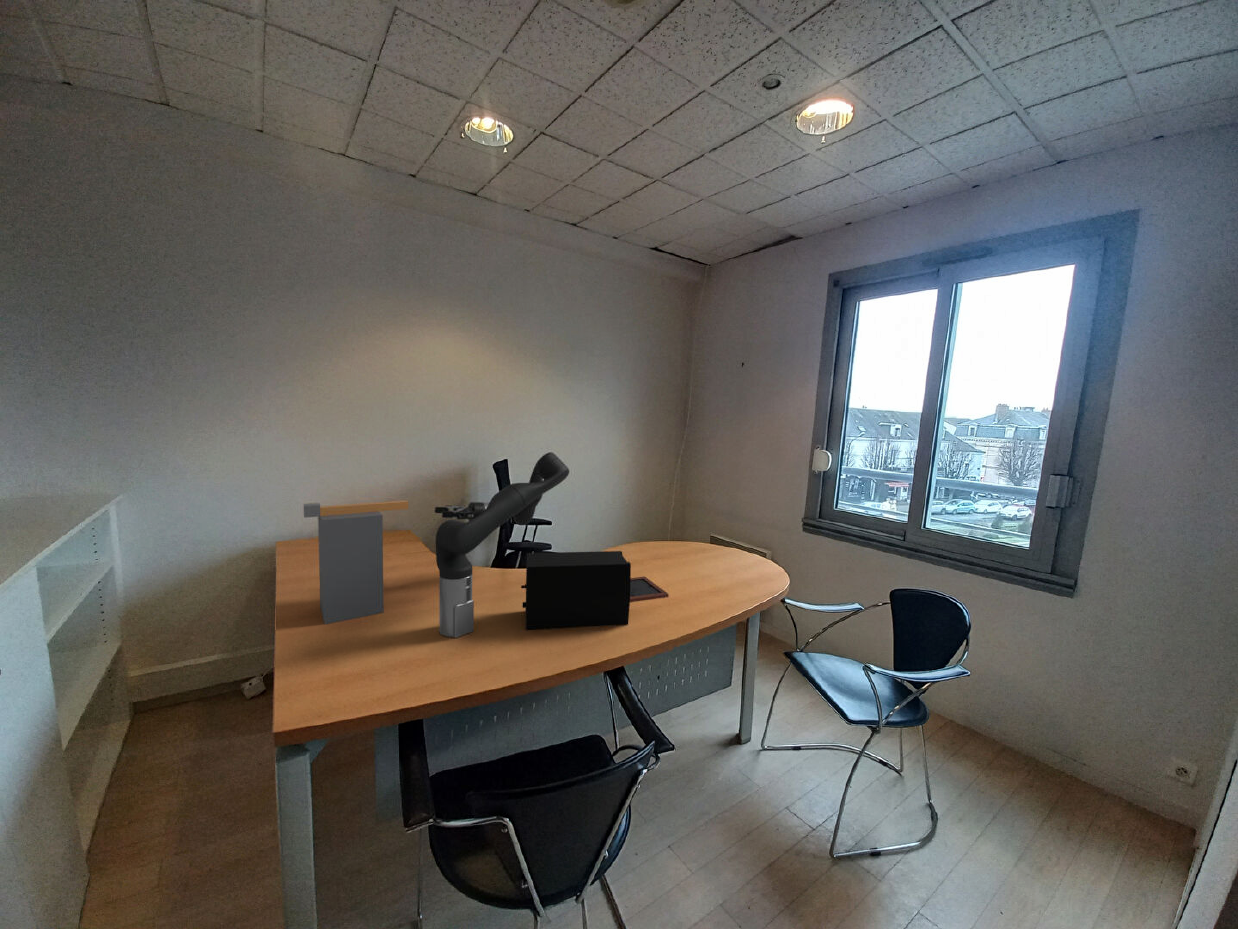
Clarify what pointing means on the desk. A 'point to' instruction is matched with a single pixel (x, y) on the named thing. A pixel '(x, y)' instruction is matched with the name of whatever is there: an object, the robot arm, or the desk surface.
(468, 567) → the robot arm
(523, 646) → the desk surface
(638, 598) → the picture frame
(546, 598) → the uninterruptible power supply
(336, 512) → the lever bar
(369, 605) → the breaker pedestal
